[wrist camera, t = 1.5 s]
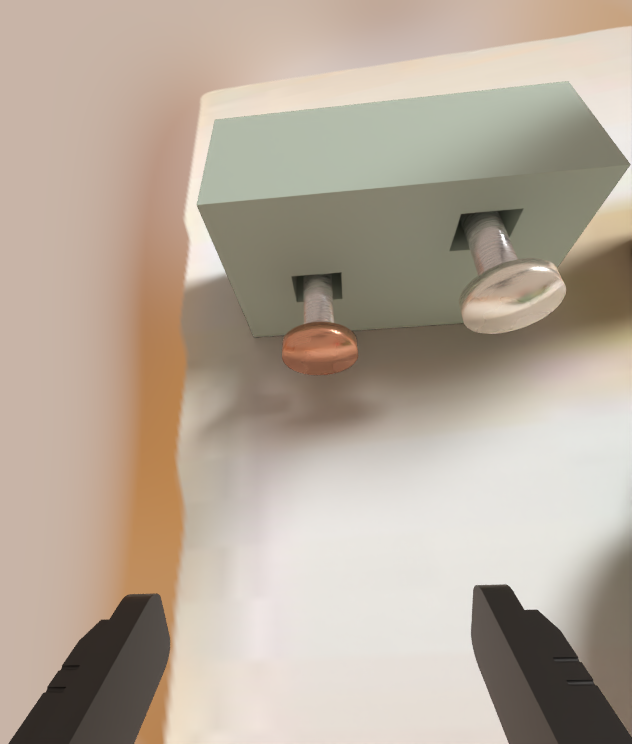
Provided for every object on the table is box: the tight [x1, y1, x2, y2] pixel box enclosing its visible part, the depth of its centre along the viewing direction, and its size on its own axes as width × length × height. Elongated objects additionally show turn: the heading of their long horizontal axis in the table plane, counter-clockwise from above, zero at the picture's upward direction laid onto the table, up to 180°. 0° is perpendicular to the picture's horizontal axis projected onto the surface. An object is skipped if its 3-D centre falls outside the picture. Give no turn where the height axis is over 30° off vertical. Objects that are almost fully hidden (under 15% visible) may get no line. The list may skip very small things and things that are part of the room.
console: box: [197, 81, 630, 337], centre depth 30 cm, size 10×26×15 cm, turn 91°
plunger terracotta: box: [282, 273, 358, 375], centre depth 29 cm, size 13×6×6 cm, turn 1°
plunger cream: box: [459, 211, 566, 334], centre depth 24 cm, size 13×6×6 cm, turn 1°
